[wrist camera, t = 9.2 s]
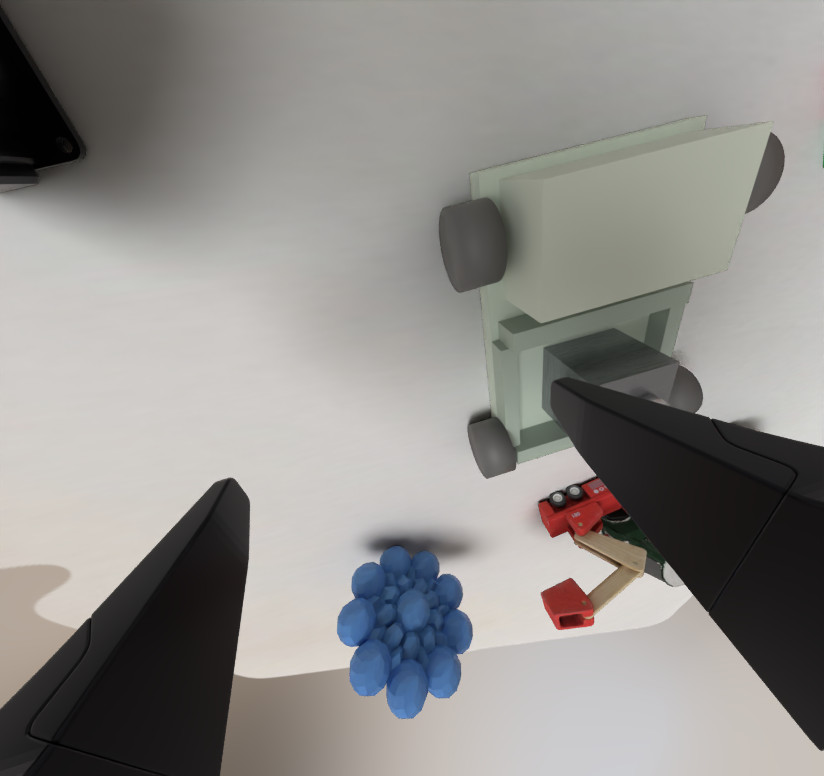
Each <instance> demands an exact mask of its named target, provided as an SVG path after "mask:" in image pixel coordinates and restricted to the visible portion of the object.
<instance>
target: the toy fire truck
mask: <svg viewBox="0 0 824 776" xmlns="http://www.w3.org/2000/svg"><path fill="white" fill-rule="evenodd" d="M566 493H567V495H566V496H564V495H563V494H562V493H560V492H554V493H552V494H551V495H550V502H549V503H548V502H547V501H544V502H542V503H540V504H539V505H538V507H539V511H540V514H541V518H542V522H543V524H544V525H545V527H546V529H547V530H548V532H549V533H550V536H551V537H552V538H553V537H556V536H558V535H560V534H563V533H565V532H567V531H568V532H569V534H570V535H571V537H572V538H573V540H574V541H575V542H574V543H575V544H576V545H578V547H579V548H583V549H585V550H587V551H588V552H590V553H592V554H594V555H596V556H598V557H599V558H601V559H603V560H605V561H607V562H609V563H610V564H612V565H614V566H616V567H618V569H617V570H616V571H614V572H613V573H612V574H611V575H610V576H609V577H607V578H606V579H605V580H604V581H603V582H602V583H601V584H599V585H598V586H597V587H596V588H595V589H594V590H592V591H591V592H590V593H589V594H588V595H587V596H586V594H585V593H584V592H583V591H582V589H581V588H580V587H579V586H578V585H577V584H576V582H575V581H574V580H573V579H572V578H569V579H567V580H565V581H563V582H561V583H559V584H557V585H555V586H553V587H551V588H549V589H547V590H545V591H543V592H541V596H542V599H543V603H544V607H545V609H546V611H547V613H548V614H549V616H550V618H551V620H552V621H553V623H554V625H555V627H556V628H557V629H558V630H563V629H572V628H579V627H587V626H592V625H593V624H594V615H595V614H596V613H597V612H599V611H600V610H601V609H602V608H603V607H604V606H605V605H607V604H608V603H609V602H610V601H611V600H612V599H613V598H614V597H616V596H617V595H618V594H619V593H620V592H621V591H623V590H624V589H625V588H626V587H627V586H628V585H629V584H630V583H632V582H633V581H634V580H635V579H636V578H637V577H640V578H641V577H643V575H644V569H645V562H646V555H647V551H646V550H645V549H643V548H640V547H637V546H634V545H631V544H628V543H625V542H622V541H619V540H617V539H614V538H611V537H608V536H605V535H602V534H599V532H600V531H601V530H602V528H603V523H602V521H601V517H602V516H604V515H607V514H609V513H611V512H613V511H616V510H618V509H620V508H623V507H622V506H621V505H620V503H619V502H618V501H617V500H616V498H615V497H614V496H613V495H612V494H611V492H610V491H609V490H608V489H607V487H606V486H605V485H604V484H603V482H602V481H601V480H600V479H599V478H597V479H595V480H593V481H591V482H588V483H586V484H583V485H582V486H581V488H580V487H579V486H576V485H571V486H569V487H568V488H567V490H566ZM623 509H624V508H623ZM626 513H627V512H626ZM627 514H628V513H627Z"/></svg>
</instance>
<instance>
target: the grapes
mask: <svg viewBox="0 0 824 776" xmlns="http://www.w3.org/2000/svg"><path fill="white" fill-rule="evenodd" d="M439 572H440V571H439V562H438V560H437V558H436V556H435V555H434V554H433V553H431V552H429V551H420V552H419V553H417V554H416V555H415V556H413V558H412V560H411V558H410V556H409V553H408V551H407V550H406V549H404V548H403V547H400V546H393V547H390V548H389V549H387V550H386V551H384V553H383V555H382V556H381V558H380V565H378V564H376V563H374V562H370V563H365V564H363V565H362V566H361V567H359V568H358V569H357V570H356V571H355V573H354V575H353V577H352V592H353V594H354V596H355V599H354V600H352V601H351V602H349V603H348V604H347V605H345V606H344V607H343V608H342V610H341V612H340V614H339V616H338V623H337V634H338V636H339V638H340V640H341V641H342V642H343V643H344V644H345V645H347V646H350V647H355V646H359V647H358V648H357V649H356V651H355V653H354V655H353V657H352V659H351V661H350V682H351V684H352V687H353V689H354V690H355V691H356V692H357V693H358V694H359V695H361V696H375V695H376V694H377V693H378V692H379V691H381V690H382V689H383V688H384V686H385V685H386V683H387V691H386V696H387V702H388V705H389V707H390V709H391V711H392V713H393V714H394V715H396V716H397V717H398V718H401V719H406V718H414V717H415V716H416V715H417V714H418V713H419V712H420V711H421V710H422V707H423V704H424V702H425V699H426V697H427V693H428V691H429V692H430V693H431V694H432V695H433V696H435V697H436V698H449V697H450V696H451V695H452V694H453V693H454V692H455V691H457V687H458V685H459V682H460V678H461V663H460V661H459V659H458V656H457V654H463V653H464V652H465V651H466V650H467V649H468V648H469V646H470V643H471V640H472V637H473V630H472V624H471V622H470V619H469V618H468V616H467V615H466V614H465V613H463V612H462V611H460V610H458V609H457V608H458V607H459V605H460V603H461V600H462V597H463V589H462V586H461V583H460V581H459V580H458V579H457V578H456V577H455V576H453V575H451V574H442V575H441V576H440V577H438V578H437V576H438V574H439Z"/></svg>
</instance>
